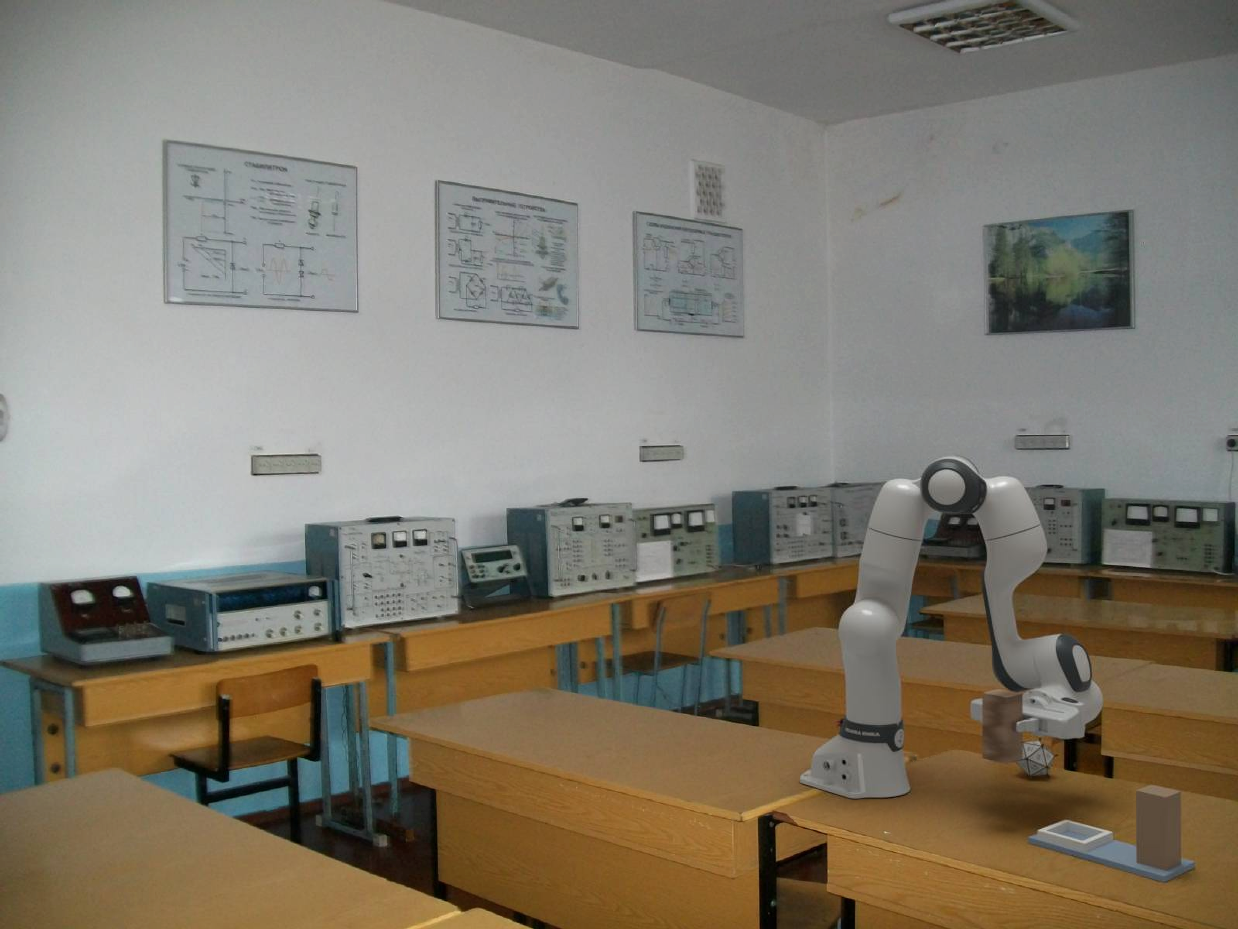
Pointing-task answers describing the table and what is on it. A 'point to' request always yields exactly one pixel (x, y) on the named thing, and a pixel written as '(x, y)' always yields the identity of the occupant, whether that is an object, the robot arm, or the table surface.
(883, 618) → the robot arm
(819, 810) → the table surface
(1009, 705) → the pillar
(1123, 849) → the baseplate
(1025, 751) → the game die
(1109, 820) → the table surface
